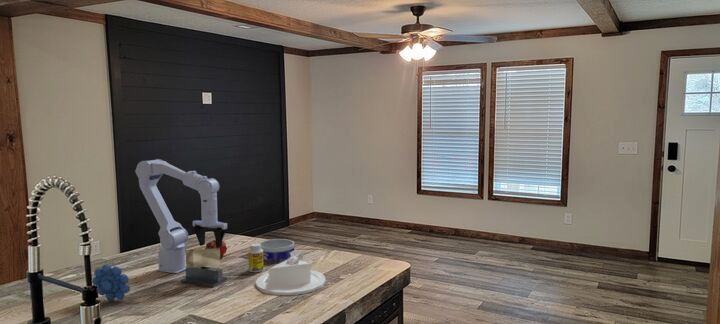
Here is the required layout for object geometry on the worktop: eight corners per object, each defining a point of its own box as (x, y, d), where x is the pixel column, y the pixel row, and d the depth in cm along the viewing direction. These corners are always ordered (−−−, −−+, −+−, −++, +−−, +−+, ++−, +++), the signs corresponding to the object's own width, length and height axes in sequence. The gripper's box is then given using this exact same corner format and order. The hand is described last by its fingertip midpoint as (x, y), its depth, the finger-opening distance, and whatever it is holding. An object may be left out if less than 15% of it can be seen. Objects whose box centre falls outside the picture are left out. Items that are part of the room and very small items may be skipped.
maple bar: (186, 267, 162) (185, 250, 163) (213, 265, 177) (212, 249, 178) (193, 266, 161) (193, 249, 162) (220, 264, 176) (219, 248, 177)
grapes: (86, 306, 147) (84, 268, 146) (97, 297, 154) (95, 262, 152) (123, 305, 147) (122, 268, 146) (133, 297, 154) (131, 261, 153)
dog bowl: (251, 261, 194) (251, 246, 194) (267, 250, 209) (266, 237, 209) (286, 263, 191) (286, 249, 190) (299, 253, 206) (299, 239, 205)
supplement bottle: (251, 273, 178) (251, 247, 177) (246, 269, 182) (246, 244, 181) (265, 271, 181) (265, 245, 180) (260, 267, 185) (259, 242, 184)
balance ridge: (180, 282, 168) (180, 269, 167) (195, 275, 175) (195, 262, 175) (213, 287, 163) (212, 273, 163) (227, 280, 171) (226, 266, 170)
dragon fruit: (206, 266, 192) (221, 261, 204) (221, 254, 191) (236, 251, 202) (196, 248, 194) (212, 245, 205) (211, 237, 192) (227, 234, 204)
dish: (297, 267, 186) (297, 239, 185) (339, 283, 168) (339, 252, 167) (242, 282, 169) (242, 252, 168) (283, 302, 151) (282, 268, 150)
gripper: (186, 211, 176) (187, 246, 177) (218, 214, 170) (219, 250, 172) (199, 208, 182) (200, 242, 183) (230, 210, 177) (231, 245, 178)
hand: (210, 246), depth 178 cm, fingers open, 7 cm apart
